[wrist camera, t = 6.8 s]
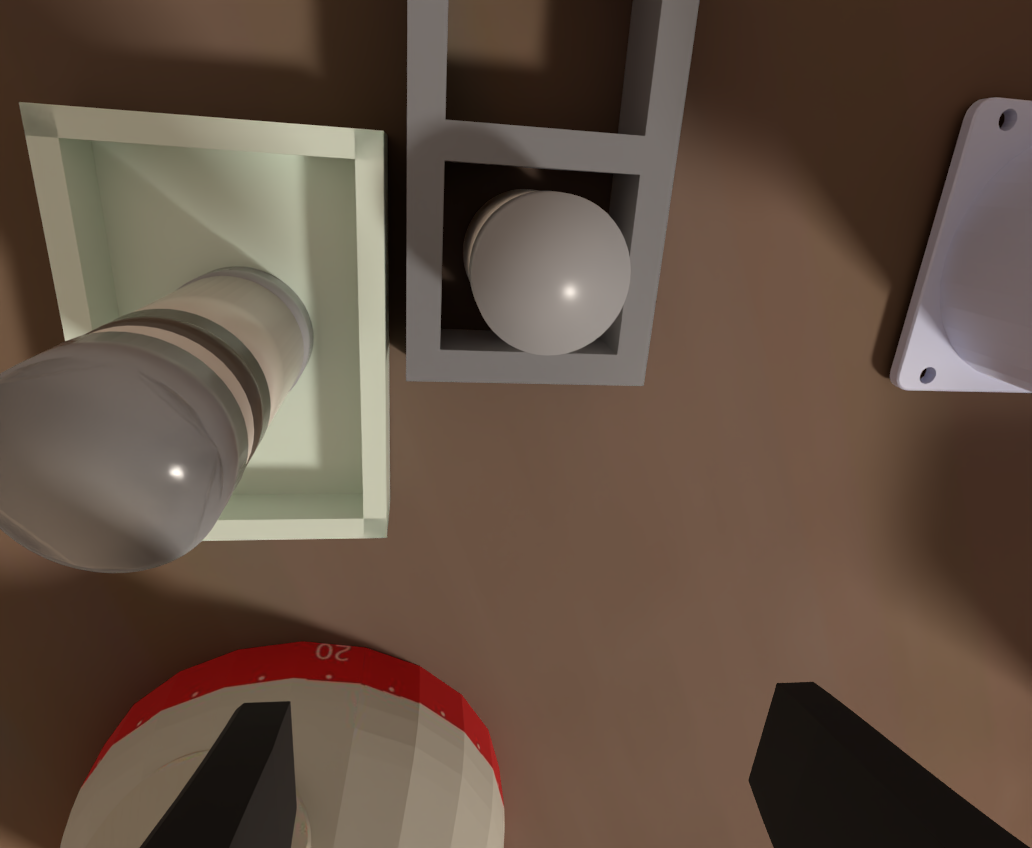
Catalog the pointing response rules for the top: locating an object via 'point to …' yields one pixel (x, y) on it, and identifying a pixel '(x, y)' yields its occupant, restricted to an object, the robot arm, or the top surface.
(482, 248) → the grey compartment rack
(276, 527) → the parts tray
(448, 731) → the kitchen timer
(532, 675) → the top surface
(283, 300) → the cylinder
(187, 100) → the top surface
